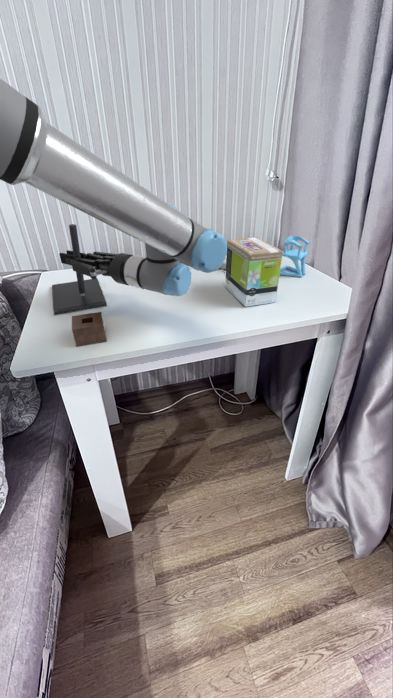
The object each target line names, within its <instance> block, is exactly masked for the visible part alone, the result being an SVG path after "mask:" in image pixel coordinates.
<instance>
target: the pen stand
mask: <svg viewBox="0 0 393 698" xmlns="http://www.w3.org/2000/svg"><path fill="white" fill-rule="evenodd" d="M71 332H72V335H73V339H74V344H75V346H76V347H82V346H87V345H92V344H93V345H95V344H100V343H106V342H107V341H108V340H107V334H106V328H105V322H104V318H103V314H102V311H97V312H89V313H82V314H75V315H71Z"/></svg>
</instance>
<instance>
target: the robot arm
mask: <svg viewBox="0 0 393 698" xmlns="http://www.w3.org/2000/svg"><path fill="white" fill-rule="evenodd" d="M0 181H2V182H5V183H6V184H8V185H11V186H16V185H19V184H23V183H24V184H26V185H29V186H31V187H33V188H35V189H36V190H39V191H40V192H42V193H45V194H47V195H48V196H50V197H52V198H54V199H57V200H58V201H60V202H62V203H64V204H66V205H69V206H70V207H72V208H74V209H76V210H78V211H80V212H81V213H84V214H86V215H87V216H90V217H92V218H94V219H96V220H98V221H99V222H102V223H103V224H106V225H108V226H110V227H112V228H113V229H116V230H118V231H120V232H122V233H124V234H125V235H128V236H130V237H132V238H134V239H135V240H138V241H140V242H142V243H143V244H144V246H145V247H144V248H145V254H146V256H142V255H137V254H130V253H125V252H120V253H112V252H103V251H93V252H92V253H91V252H87V253H85V252H80V255H81V258H79V256H78V255H73V250H69V249H68V250H66V251H65V252H60V253H58V255H59V259H60V263H61V264H63V265H68V266H71V268H72V271H73V272H75V273H76V272H78V273H81V274H83V276H87V277H89V278H90V279H96V278H97V277H98V276H103V277H111V279H112V280H113V281H114V282H115V283H117V284H120V285H124V286H129V287H134V288H138V289H141V290H146V291H151V292H155V293H159V294H163V295H165V296H173V297H182V296H183V295H185V294H186V293H187V292H188V291H189V289H190V286H191V283H192V271H191V268H192V269H194V270H195V271H197V272H198V271H200V272H202V273H204V274H206V273H207V274H210V273H213V272H216V271H217V270H219V269H220V268H219V267H220V266H221V265H222V264H223V261H224V260H225V258H227V241H226V238H225V237H224V236H223V234H221V233H220V232H217V231H215V230H214V229H212V228H206V227H204V226H203V225H201V224H199V223H198V222H196V221H194V220H193V219H192V218H190V217H188V216H187V215H186V214H185V213H183V212H181V211H180V210H179V209H178V208H177V206H175V205H174V204H170V203H168V202H167V201H165V200H164V199H162V198H161V197H159V196H158V195H156V194H154V193H153V192H152V191H151V190H148V189H147V188H145V187H144V186H143V185H141V184H139V183H138V182H137V181H135V180H133V178H130V177H129V176H127V175H126V174H124V172H122V171H120V170H118V169H117V168H116V167H114V166H113V165H111V164H110V163H108V162H107V161H105V160H104V159H102V158H101V157H99V156H98V155H96V154H95V153H94V152H92V151H90V150H89V149H87V148H86V147H84V146H83V145H81V144H80V143H78V142H77V141H75V140H74V139H72V138H71V137H69V136H68V135H66V134H65V133H63V132H62V131H60V130H59V129H57V128H56V127H55V126H53V125H52V124H50V123H49V122H47V121H46V119H45V117H44V114H43V112H42V109H41V107H40V106H39V105H38V104H37V103H35V102H34V101H32V100H31V99H30V98H28V97H27V96H25V95H24V94H22V93H21V92H20V91H19V90H17V89H15V88H14V87H13V86H11V85H10V84H9V83H7V82H6V81H4V80H3V79H2V78H0ZM180 262H182V263H180ZM183 263H184V264H183ZM185 264H186V265H185ZM187 265H188V266H187ZM97 279H98V278H97Z"/></svg>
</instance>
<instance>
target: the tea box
mask: <svg viewBox="0 0 393 698" xmlns="http://www.w3.org/2000/svg"><path fill="white" fill-rule="evenodd" d="M226 243H227V255H226V270H225V278H224V279H225V280H224V281H225V282H224V283H225V284H224V285H225V286H224V287H225V288H226V289H227V290H228V291H229V292H230V294H231V295H232V296H234V297H235V298H236V300H237V301H239V303H240V304H242V305H243V306H244V307H254V306H261V305H266V304H272V303H276V301H277V295H278V287H279V283H280V282H279V281H280V280H279V279H280V275H279V274H280V269H281V268H282V267H281V266H282V260H283V256H282V253H283V252H284V250H282V249H280V248H279V247H277V246H274V245H273V244H271V243H269V242H267V241H265V240H263V239H261V238H260V237H257V236H256V237H255V236H253V237H245V238H235V239H234V238H233V239H228V240H227V241H226Z"/></svg>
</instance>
